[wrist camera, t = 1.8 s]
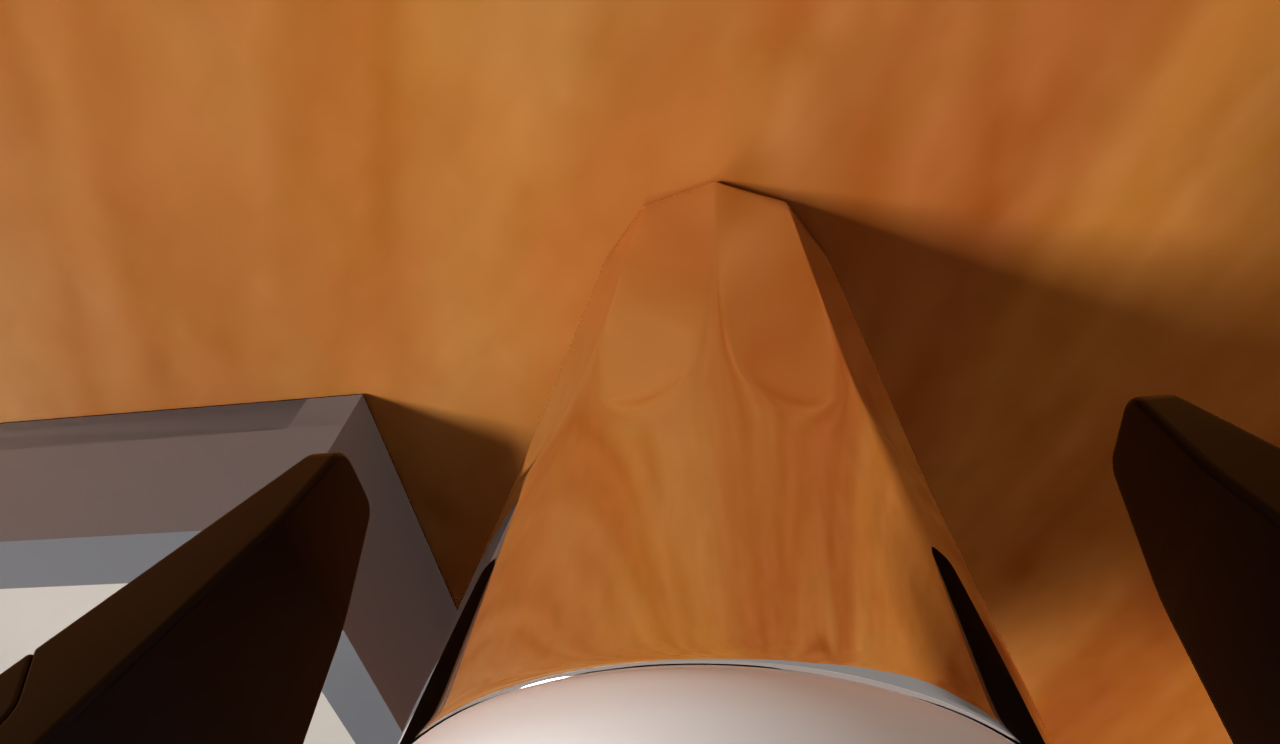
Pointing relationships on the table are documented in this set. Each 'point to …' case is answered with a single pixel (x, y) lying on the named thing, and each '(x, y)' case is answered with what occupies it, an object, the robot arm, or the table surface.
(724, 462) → the milkshake
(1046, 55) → the table surface
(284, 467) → the gray square tray
